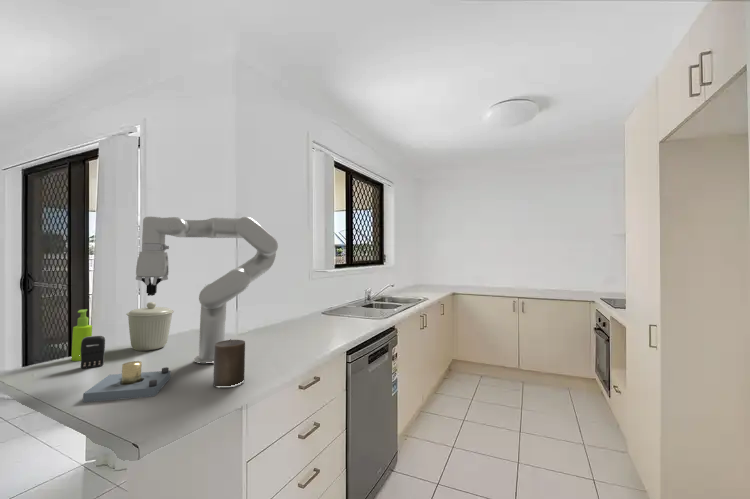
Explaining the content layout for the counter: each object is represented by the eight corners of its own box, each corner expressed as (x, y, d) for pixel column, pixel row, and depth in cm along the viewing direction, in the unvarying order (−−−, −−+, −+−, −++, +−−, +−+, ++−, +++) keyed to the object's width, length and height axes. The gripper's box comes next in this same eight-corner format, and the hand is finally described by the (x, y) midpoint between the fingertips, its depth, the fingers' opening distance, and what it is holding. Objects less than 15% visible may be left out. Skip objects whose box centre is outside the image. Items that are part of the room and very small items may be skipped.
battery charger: (79, 370, 121) (80, 338, 122) (80, 367, 124) (81, 336, 125) (103, 366, 125) (105, 336, 126) (104, 364, 129) (105, 334, 129)
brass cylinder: (143, 385, 109) (144, 360, 109) (136, 391, 104) (137, 365, 104) (125, 386, 107) (126, 361, 108) (118, 392, 103) (119, 366, 103)
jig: (170, 377, 116) (170, 366, 116) (154, 396, 101) (155, 382, 101) (109, 382, 111) (109, 370, 111) (82, 402, 95) (83, 388, 95)
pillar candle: (249, 383, 112) (250, 339, 113) (219, 391, 105) (221, 343, 106) (237, 376, 119) (238, 334, 120) (208, 383, 112) (210, 338, 113)
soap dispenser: (68, 362, 129) (70, 311, 130) (74, 357, 136) (76, 308, 136) (87, 360, 132) (89, 310, 133) (92, 356, 138) (94, 308, 139)
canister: (119, 355, 140) (121, 305, 141) (130, 344, 157) (133, 300, 157) (168, 351, 147) (170, 304, 148) (175, 341, 164) (176, 299, 165)
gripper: (177, 249, 136) (175, 294, 135) (135, 248, 131) (132, 294, 131) (172, 248, 129) (170, 296, 128) (127, 247, 124) (124, 296, 124)
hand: (151, 295), depth 129 cm, fingers closed
